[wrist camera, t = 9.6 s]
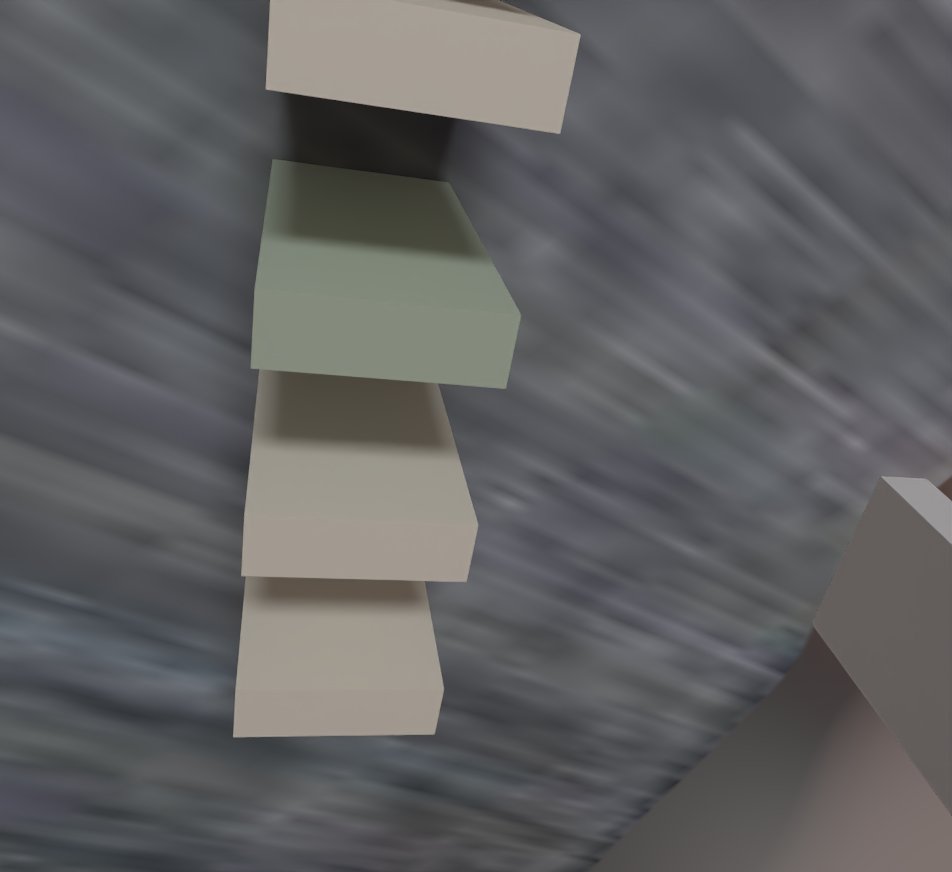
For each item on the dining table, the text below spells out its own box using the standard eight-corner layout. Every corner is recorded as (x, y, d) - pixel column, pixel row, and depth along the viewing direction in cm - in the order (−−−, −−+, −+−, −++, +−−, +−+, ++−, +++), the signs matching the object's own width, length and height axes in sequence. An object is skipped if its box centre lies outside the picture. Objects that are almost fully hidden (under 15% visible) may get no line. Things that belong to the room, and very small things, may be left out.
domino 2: (440, 235, 26) (505, 388, 18) (269, 215, 25) (251, 368, 16) (449, 182, 25) (521, 315, 17) (272, 159, 24) (254, 288, 16)
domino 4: (399, 510, 31) (434, 734, 22) (253, 503, 30) (233, 737, 21) (404, 472, 30) (443, 689, 22) (256, 463, 29) (235, 689, 21)
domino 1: (469, 57, 24) (559, 133, 15) (281, 25, 23) (265, 89, 14) (479, -9, 23) (580, 34, 14) (284, -44, 22) (270, -21, 13)
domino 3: (418, 384, 28) (466, 582, 20) (261, 372, 27) (241, 576, 19) (425, 339, 28) (478, 525, 19) (264, 325, 27) (244, 515, 18)
